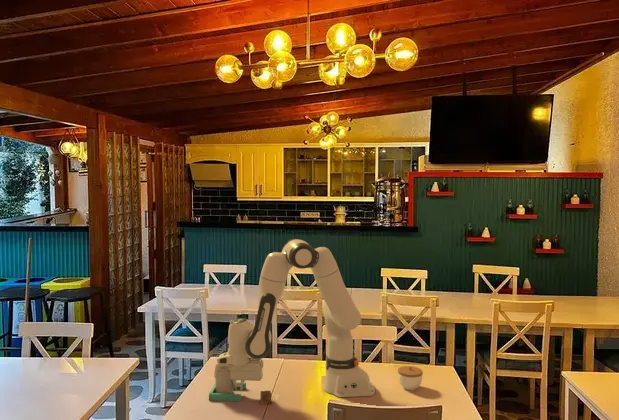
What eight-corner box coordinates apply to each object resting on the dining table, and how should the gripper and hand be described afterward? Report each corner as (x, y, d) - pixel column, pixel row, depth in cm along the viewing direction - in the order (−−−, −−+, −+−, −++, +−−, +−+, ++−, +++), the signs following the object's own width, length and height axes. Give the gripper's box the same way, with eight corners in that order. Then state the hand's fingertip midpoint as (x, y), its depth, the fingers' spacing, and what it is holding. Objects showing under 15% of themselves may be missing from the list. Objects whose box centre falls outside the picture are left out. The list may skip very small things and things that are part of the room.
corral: (246, 388, 218) (246, 382, 218) (240, 401, 205) (240, 395, 205) (216, 387, 219) (216, 381, 219) (208, 400, 206) (208, 394, 206)
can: (227, 388, 218) (227, 361, 217) (236, 393, 212) (237, 365, 212) (212, 393, 213) (212, 365, 212) (221, 398, 207) (221, 370, 206)
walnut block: (270, 400, 207) (270, 390, 207) (271, 404, 203) (271, 394, 203) (260, 400, 206) (260, 391, 206) (261, 405, 202) (261, 395, 202)
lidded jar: (406, 380, 229) (407, 360, 229) (427, 387, 221) (427, 366, 221) (392, 387, 221) (393, 366, 221) (413, 394, 214) (413, 373, 213)
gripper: (264, 355, 213) (264, 387, 214) (216, 354, 214) (216, 385, 215) (262, 360, 207) (262, 393, 208) (213, 359, 208) (213, 392, 209)
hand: (238, 389), depth 211 cm, fingers closed
